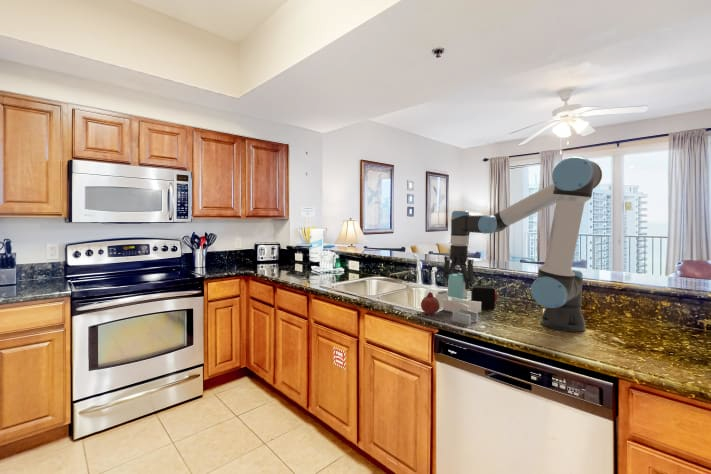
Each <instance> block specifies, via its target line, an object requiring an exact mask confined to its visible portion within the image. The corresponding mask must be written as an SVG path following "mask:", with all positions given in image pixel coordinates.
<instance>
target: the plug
mask: <svg viewBox="0 0 711 474" xmlns="http://www.w3.org/2000/svg"><path fill="white" fill-rule="evenodd" d="M463 282H465V280H464V277H463V273H453V274H450V275H449V284H448V286H447V292H448V297H450V298H451V297H454V298H459V299H466V298H467V297H468V295H467V296H466V297H463Z"/></svg>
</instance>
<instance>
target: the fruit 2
mask: <svg viewBox="0 0 711 474" xmlns="http://www.w3.org/2000/svg"><path fill="white" fill-rule="evenodd" d="M420 308H421V310H422V311H423V312H424V313H425V314H427V315H434V314H436V313H437V312H438V311H439V310H440V308H439V302H438V300H437V298H436V296H434V295H433V292H431V291H428V293H427V295H426V296H424V297H423V298H422V299H421V302H420Z"/></svg>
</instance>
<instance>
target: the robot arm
mask: <svg viewBox="0 0 711 474" xmlns="http://www.w3.org/2000/svg"><path fill="white" fill-rule="evenodd" d="M551 178H552V183H551V184H549V185H547V186H546V187H543V188H542V189H539V190H538V191H536V192H534V193H531V195H529V196H527V197H524V198H523V199H520V200H519V201H516V202H515V203H513V204H510V205H509V206H508V207H505V208H503V209H502V210H500V211H498V212H496V213H494V214H492V215H489V214H488V215H487V214H485V215H482V214H481V215H478V214H477V215H472V214H470V212H469V211H468V210H453V211H452V212H451V218H450V219H451V220H450V221H451V222H450V226H451V227H450V243H449V244H450V247H449V250H450V251H449V252H450V255H446V256H444V257H443V258H444V264H443V265H444V267H443V273H442V277H443V278H445V279H446V286H447V287H448V284H449V275H450V274H454V272H455V269H456V267H457V266H459V268H460V269H461V272H462V273H461V274H463V277H464V280H465V282H463V297H466V296H467V297H468V291H469V289H470V283H471V282H474V279H475V278H474V276H475V275H474V261H475V260H474V259H473V258H469V257H468V251H469V250H468V245H469V244H468V243H469V233H475V234H476V233H477V234H494V233H499V232H502V231H504V230H506V228H507V227H510V226H511V225H513V224H516V223H518V222H520V221H522V220H524V219H526V218H528V217H530V216H532V215H534V214H536V213H538V212H540V211H543V210H545V209H546V208H549V207H552V206H553V205H554V204H555V207H554V211H553V217H552V222H551V227H550V232H549V238H548V243H547V250H546V254H545V259H544V263H543V264H542V265H541V266H539V267H538V271H537V275H536V276H537V277H536V279H535V280H534V281H533V282H532V285H531V287H530V292H531V297H532V298H533V300H534V301H535V302H536V303H537V304H538V305H539V306H541V307H544V310H543V312H542V315H541V320H540V321H541V322H540V323H541V325H543V326H544V327H547V328H550V329H553V330H556V331H561V332H567V333H568V332H569V333H570V332H571V333H578V332H583V331H585V330H586V321H585V317H584V315H583V312H582V297H583V296H582V295H583V294H582V293H583V281H584V278H583V277H584V276H583V273H582V271H580V270H578V269H577V270H574V269H572V268H573V266H572V265H573V262H574V257H575V252H576V248H577V247H576V246H577V242H578V237H579V231H580V228H581V223H582V217H583V213H584V207H585V204H586V202H588V201H589V200H591V199H592V194H593V190H594V189H595V188H597V187H598V186H599V184H600V183H601V181H602V178H603V171H602V169H601V166H599V164H597V163H596V162H594V161H593V160H592V161H591V160H589V159H588V158H586V157H581V156H571V157H567V158H564V159H562V160H561V161H559V162H558V163H557V164H556V166H555V167H554V168H553V170H552V175H551ZM466 263H467V264H466ZM467 297H466V298H467Z"/></svg>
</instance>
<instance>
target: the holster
mask: <svg viewBox="0 0 711 474" xmlns="http://www.w3.org/2000/svg"><path fill="white" fill-rule="evenodd" d="M451 314H452V316H451V322H454V323H457V324H458V323H459V324H462V325H464V326H465V325H466V326H468V327H469V326H471V325H472V323H479V312H475V311H471V310H466V309H462V308H461V309H460V312H456V311H452V312H451Z"/></svg>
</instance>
